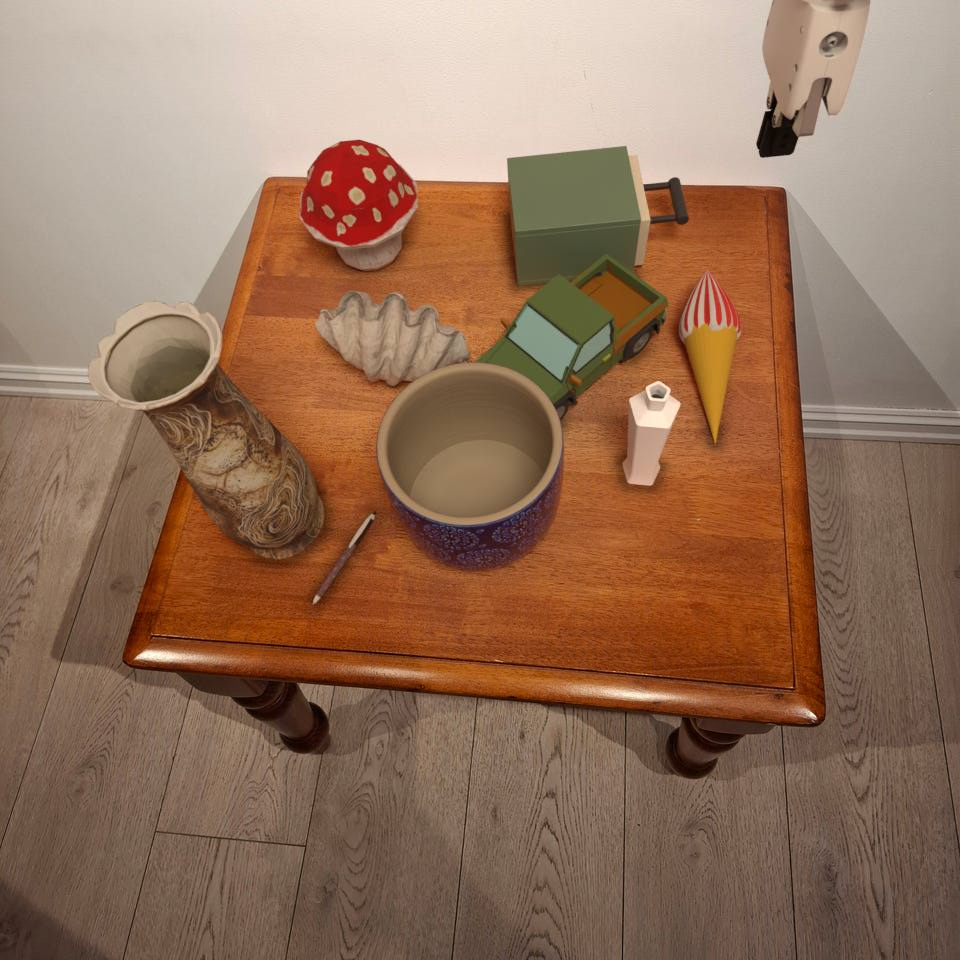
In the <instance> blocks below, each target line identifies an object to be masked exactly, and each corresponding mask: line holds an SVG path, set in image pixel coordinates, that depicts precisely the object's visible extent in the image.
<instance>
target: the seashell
mask: <svg viewBox="0 0 960 960" xmlns="http://www.w3.org/2000/svg"><path fill="white" fill-rule="evenodd" d="M408 303H409V302H408V299H407V297H405V296H404V295H403V294H402V293H400V292H398V291H392V292H390V293H389V294H387V295H386V296H385V297H383V300H382V302H381V304H378V303H377V302H375V301H374V300H373V298H372V297H371V295H370V294H368V293H367V292H364V291H357V290H349V291H348V292H346V293H345V294H344V295H343V296H342V297H341V298H340V299H339V302H338V304H337V307H336V308H333V309H321V310H320V311H319V315H318V318H317V319H316V321H315V323H314V329H315V330H316V331H317V333H318V334H319V335H320V336H321V337H322V338H323V339H324V340H325V341H326V342H327V343H328V344H329V345H330V346H331V347H332V348H333V349H335V351H337V352H338V353H340V355H341V357H342V358H343V359H344V361H345V362H347V363H348V364H350V365H352V366H353V367H354V368H356V369H358V370H360V371H363V372H364V374H365V377H366V378H367V380H368V381H369V382H370V383H376V382H378V381H379V380H383V381H385V383H386V384H387V386H390V387H395V386H397V385H398V384H400V383H401V382H402V381H404V382H413V381H414V380H416V379H418V378H419V377H421V376H423V375H424V374H426V373H428V372H431V371H433V370H435V369H438V368H441V367H444V366H448V365H453V364H458V363H468V362H469V361H470V360H471V352H470V350H469V349H468V346H467V337H466V335H465V333H463V331H461V330H459V329H458V328H456V327H454V326H453V325H447V324H440V322H439V320H440V318H439V317H440V316H439V312H438V310H437V309H436V307H434V306H433V305H432V304H422V305H420V306H418V307H417V309H415V310H411V309H410V307H409V304H408Z"/></svg>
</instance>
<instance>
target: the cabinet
mask: <svg viewBox="0 0 960 960" xmlns="http://www.w3.org/2000/svg"><path fill="white" fill-rule="evenodd" d="M629 156H630V155H629V152H628V147H627V145H623V146H622V145H621V146H611V147H603V148H602V147H601V148H593V149H592V148H591V149H583V150H573V151H563V152H553V153H552V152H551V153H544V154H534V155H523V156H522V155H521V156H515V157H507V158H506V167H507V188H508V202H509V219H510V228H511V238H512V247H513V256H514V266H515V267H514V268H515V274H516V283H517V284H516V286H517V287H523V286H524V287H525V286H533V285H534V286H535V285H543V284H544V285H546V284H547V283H549V282H550V281H551V280H552V279H554V278H555V277H556V276H557V275H559V274H560V275H561V276H563V277H564V278H565V279H567V280H568V281H569V282H571V281H573V280H574V279H575V278H576V277H578V276H579V275H580V274H581V273H583V272H584V271H585V270H586V269H588V268H589V267H590V266H591V265H592V264H594V263H595V262H596V261H597V260H599V259H600V258H601V257H602V256H604V255H605V254H608V255H609V256H610V257H612V258H613V259H614V260H616V261H617V262H619V263H620V264H621V265H623V266H624V267H625V268H627V269H628V270H630V271H631V272H632V273H634V274H635V267H636V266H635V259H636V252H637V245H638V238H639V231H640V224H641V215H640V210H639V205H638V201H637V196H636V191H635V186H634V181H633V176H632V171H631V166H630V161H629Z"/></svg>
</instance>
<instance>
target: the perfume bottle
mask: <svg viewBox="0 0 960 960" xmlns="http://www.w3.org/2000/svg"><path fill="white" fill-rule="evenodd" d="M671 391H672V389H671V388H670V387H669V386H667V385H666V384H665V383H663V382H662V381H660V380H657V381H654V382H653V383H651V384H649V385H647V386H645V390H643V391H641V392H639V393H638V394H635V395H633V396H631V397H630V398H629V400H628V423H627V424H628V425H627V426H628V427H627V450H626V451H627V454H626V458H625V459H624V460H623V461H622V464H621V465H622V468H623V472H624V475H625V480H626V483H628V484H630V485H639V486H649V487H650V486H653V485H654V483H655V481H656V478H657V476H658V474H659V472H660V469H661V465H660V462H659V461H660V458H661V455H662V454H663V450H664V448H665V446H666V444H667V441H668V437H669V435H670V433H671V430H672V427H673V426H674V423H675V420H676V417H677V416H678V413H679V409H680V407H681V402H680V401H679V400H678V399H676V398H675V397H674V396H672V395H671Z"/></svg>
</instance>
